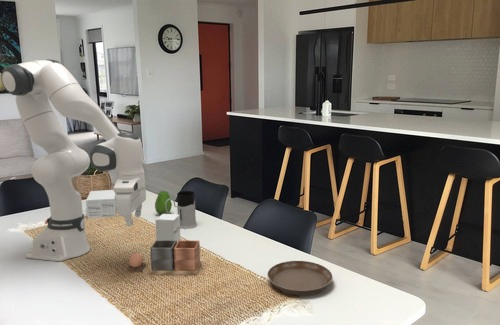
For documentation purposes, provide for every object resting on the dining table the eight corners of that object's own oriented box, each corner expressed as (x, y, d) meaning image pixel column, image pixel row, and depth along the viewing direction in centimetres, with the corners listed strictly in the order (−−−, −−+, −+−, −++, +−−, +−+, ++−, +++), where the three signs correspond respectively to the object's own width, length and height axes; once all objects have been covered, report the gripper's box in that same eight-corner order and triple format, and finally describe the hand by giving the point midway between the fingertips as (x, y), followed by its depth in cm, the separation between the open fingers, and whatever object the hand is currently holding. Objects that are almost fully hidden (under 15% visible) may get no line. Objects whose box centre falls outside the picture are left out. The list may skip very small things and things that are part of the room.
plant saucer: (316, 306, 128) (316, 295, 127) (255, 288, 139) (255, 278, 138) (341, 278, 145) (341, 269, 145) (285, 264, 156) (285, 256, 155)
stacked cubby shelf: (150, 274, 149) (148, 249, 147) (157, 263, 158) (155, 239, 156) (197, 274, 148) (196, 249, 146) (201, 263, 157) (200, 239, 155)
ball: (127, 270, 151) (126, 256, 150) (131, 264, 156) (130, 250, 155) (141, 270, 151) (140, 256, 150) (145, 264, 156) (144, 250, 155)
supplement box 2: (174, 252, 168) (173, 220, 165) (156, 250, 169) (154, 219, 167) (181, 244, 175) (180, 214, 172) (163, 243, 176) (162, 213, 174)
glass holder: (200, 226, 196) (199, 193, 193) (170, 232, 188) (169, 199, 185) (191, 221, 203) (190, 189, 200) (162, 227, 195) (160, 194, 192)
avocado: (170, 217, 209) (169, 192, 206) (153, 217, 209) (152, 192, 206) (173, 212, 216) (172, 188, 214) (157, 212, 217) (156, 188, 214)
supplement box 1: (91, 208, 224) (89, 190, 222) (118, 206, 227) (117, 189, 225) (86, 219, 208) (85, 199, 206) (116, 216, 210) (114, 197, 209)
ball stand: (126, 271, 151) (126, 268, 151) (131, 265, 156) (131, 262, 156) (141, 271, 151) (141, 268, 151) (146, 265, 156) (145, 262, 156)
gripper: (131, 174, 158) (134, 211, 161) (111, 189, 138) (114, 231, 141) (149, 174, 158) (151, 211, 160) (131, 188, 138) (134, 231, 140)
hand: (134, 220), depth 150 cm, fingers open, 8 cm apart
